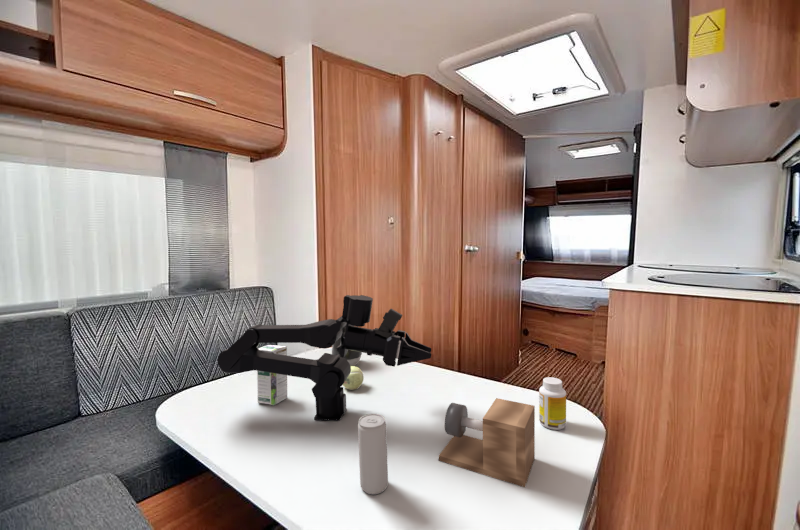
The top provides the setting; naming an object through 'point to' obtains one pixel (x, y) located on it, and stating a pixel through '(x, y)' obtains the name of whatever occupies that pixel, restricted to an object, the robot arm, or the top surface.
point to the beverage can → (373, 453)
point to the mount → (498, 444)
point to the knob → (460, 420)
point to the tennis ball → (354, 379)
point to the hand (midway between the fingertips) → (431, 352)
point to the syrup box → (272, 380)
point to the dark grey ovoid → (351, 355)
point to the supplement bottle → (552, 404)
